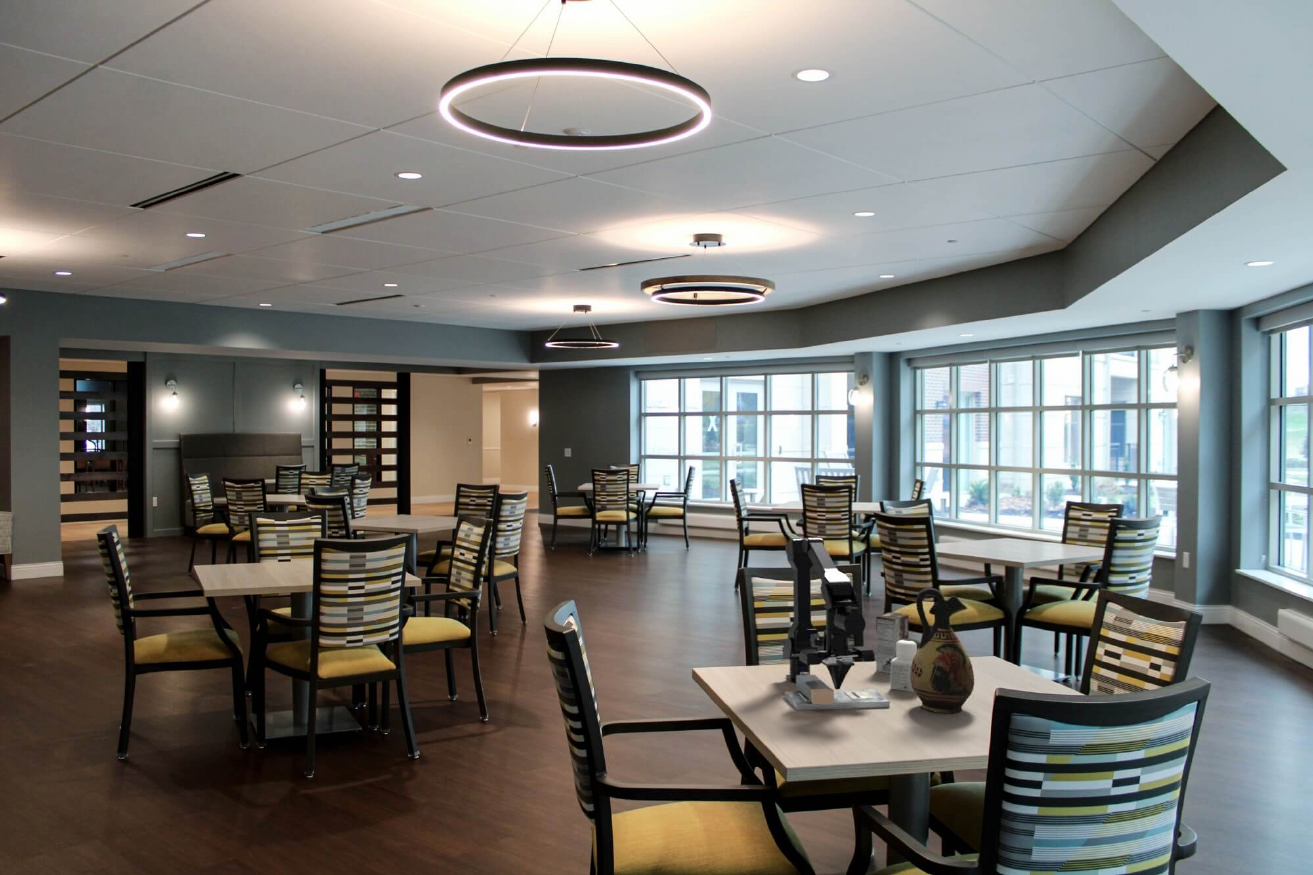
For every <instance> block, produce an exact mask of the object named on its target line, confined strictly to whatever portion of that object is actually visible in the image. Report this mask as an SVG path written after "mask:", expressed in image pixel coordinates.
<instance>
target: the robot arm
mask: <svg viewBox="0 0 1313 875" xmlns="http://www.w3.org/2000/svg"><path fill="white" fill-rule="evenodd" d="M784 550H785V553H786V560H787V562H788V564H789V565H790V567H791V568H792V574H793V576H792V578H793V579H792V580H793V582H792V585H793V590H792V591H793V622H792V623H791V625H790V627H789V628H788V632H787V639H786V640H785V642H784V645H783V647H782V648H781V650H782V657H784V658H785V659H787V660H789V674H786V675H785V677H786V678H787V679H788V680H789V681H790V682H791V683H796V675H800V672H808V673H809V675H811V666H817V665H821V664H822V665H824V666H825V667H826V668H827V670H828V673H829V675H830V678H831V681H832V684H833V686H834V690H841V687H842V684H844V683H843V682H844V681H845V679H846V677H847V675H848V673H849V671H850V670H851V668H852V667H854V666H855V665H856V663H854V662H853V659H861V660H862V661H863V662H864V663H869V662H871V663H872V662H876V652H875V651H874V649H872V648H869V647H867V646H865V645H863V646H853V647H852V649H849V645H850V644H849V639H852V636H853V637H857V636H859V635H861V634H862V633H863V632H864V631H865V629H866V626H867V625H866V620H865V618H864V616H863V615H862V614H860V613H859V607H860V605H859V602H860V600H859V598H858V595H857V593H856V590H855V588H854V585H853V583H852V582H851V580H850V578H848V576H847V575H846V574H844V573H843V572H841V571H839V570H838V568H837V567H836V565H835V563H834V561H833V560H832V558H831V556H830V554H829V552H828V551H827V548H826V546H825V542H824V539H823V538H821V537H803V538H802V537H801V538H798V537H795V538H794V537H793V538H792V537H791V538H790V539H789V540H788V542H786V543H785V549H784ZM813 567H814V569H815V570H816V573H817V574H818V577H819V579H820V581H821V585H820V588H819V589H820V594H821V596H822V598H823V601H824V604H823V608H825V612H826V613H825V630H824V631H823V636H820V633H819V631H818V629H817V628H815V627H814V624H813V623H812V601H811V600H812V596H811V594H812V592H811V589H812V588H811V570H812V568H813ZM822 651H823V652H822Z"/></svg>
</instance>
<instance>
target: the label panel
mask: <svg viewBox="0 0 1313 875" xmlns="http://www.w3.org/2000/svg"><path fill="white" fill-rule="evenodd" d="M833 690H834V704H813V703H812V702H811V701H810V700H809V699H808V698H807V697H806V696H805V695H804V694H803V693H802V692H801V691H800V690H797V691H796V690H795V691H793V690H792V691H790V690H789V691H784V699H785V700H787V702H788V703H789V704H790V705H791V706H792V707H793V708H794V709H795V710H796V711H809V710H810V711H811V710H812V711H813V710H814V711H815V710H841V709H842V710H844V709H845V710H846V709H849V710H850V709H874V708H876V709H878V708H879V709H880V708H881V709H882V708H890V707H891V705H890V704H891V702H890V700H888V699H887V698H886V697H885V696H883V695H882V694H880V693H879V692H878V691H876V690H875V689H874V688H870V689H869V688H866V689H861V688H860V689H839V690H836V689H833Z"/></svg>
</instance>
